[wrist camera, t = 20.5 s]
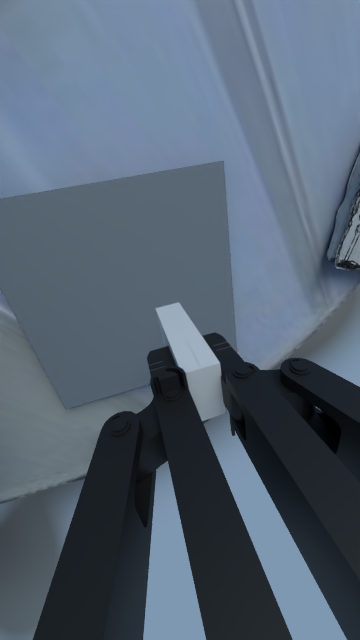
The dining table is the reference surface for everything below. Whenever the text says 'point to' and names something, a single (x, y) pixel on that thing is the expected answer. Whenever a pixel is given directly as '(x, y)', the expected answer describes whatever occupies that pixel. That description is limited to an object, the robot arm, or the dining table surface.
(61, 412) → the dining table surface
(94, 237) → the mat
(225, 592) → the robot arm
